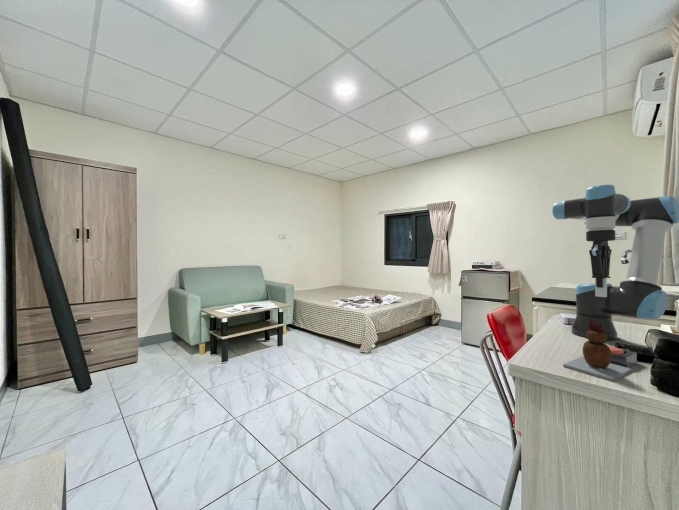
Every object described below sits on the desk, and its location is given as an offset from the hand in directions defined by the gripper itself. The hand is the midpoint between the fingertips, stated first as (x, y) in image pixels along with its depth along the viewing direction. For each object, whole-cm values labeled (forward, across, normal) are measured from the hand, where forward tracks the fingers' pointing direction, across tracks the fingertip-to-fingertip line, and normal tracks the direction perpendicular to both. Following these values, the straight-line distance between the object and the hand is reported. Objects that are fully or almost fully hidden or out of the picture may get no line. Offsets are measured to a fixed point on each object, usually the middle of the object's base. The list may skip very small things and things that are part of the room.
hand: (601, 296), depth 97 cm
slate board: (+21, +15, +3) cm, 26 cm away
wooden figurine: (+21, +15, +3) cm, 25 cm away
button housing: (+21, +2, +4) cm, 22 cm away
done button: (+20, +2, +4) cm, 21 cm away
